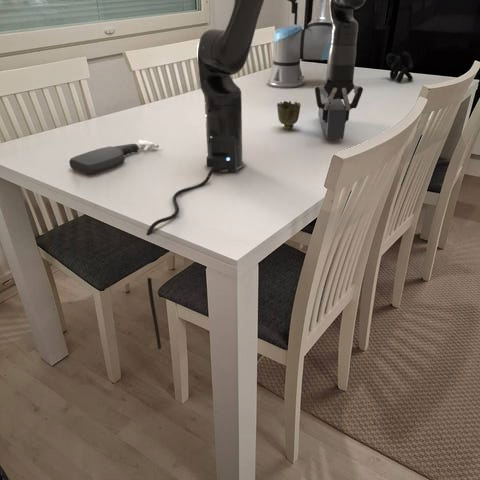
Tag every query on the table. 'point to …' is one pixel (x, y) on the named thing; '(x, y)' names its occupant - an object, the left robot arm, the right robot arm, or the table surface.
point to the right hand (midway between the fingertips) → (315, 24)
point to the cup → (288, 114)
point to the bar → (333, 118)
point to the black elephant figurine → (399, 66)
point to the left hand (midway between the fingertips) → (334, 121)
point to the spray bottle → (106, 157)
